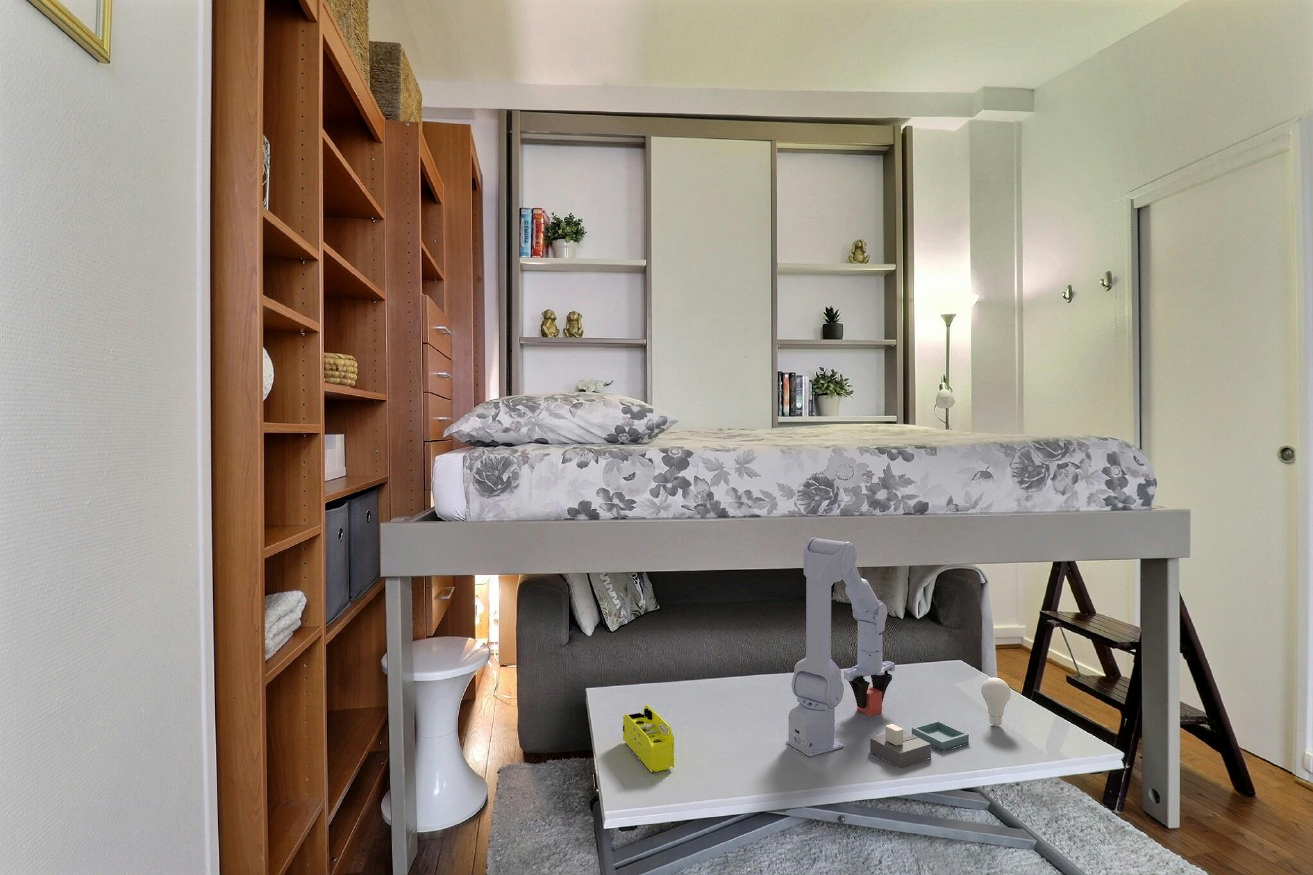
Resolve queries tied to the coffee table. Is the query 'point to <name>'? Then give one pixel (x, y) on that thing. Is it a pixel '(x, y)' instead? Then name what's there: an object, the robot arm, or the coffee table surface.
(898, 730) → the switch
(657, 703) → the coffee table surface
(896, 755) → the grey flat block
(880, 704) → the block
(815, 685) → the robot arm
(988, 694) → the lightbulb
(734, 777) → the coffee table surface
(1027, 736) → the coffee table surface
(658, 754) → the yellow parts caddy
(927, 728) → the tray
